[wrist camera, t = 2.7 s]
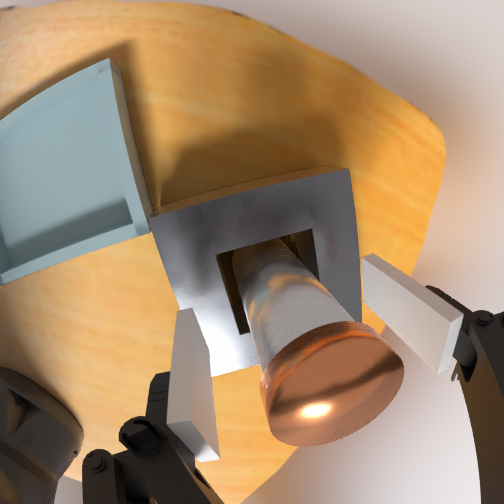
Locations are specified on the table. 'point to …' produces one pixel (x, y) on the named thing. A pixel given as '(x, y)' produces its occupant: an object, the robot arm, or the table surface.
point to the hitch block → (251, 232)
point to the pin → (311, 350)
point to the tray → (69, 174)
